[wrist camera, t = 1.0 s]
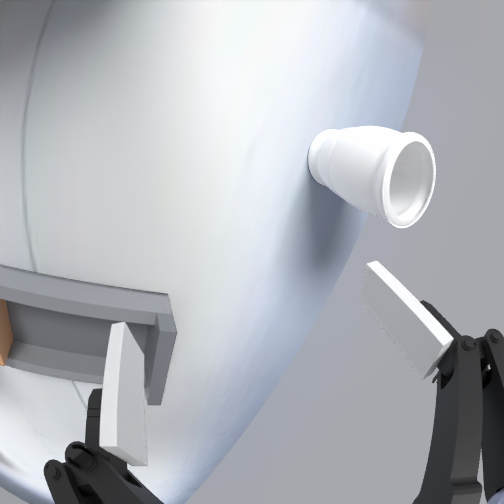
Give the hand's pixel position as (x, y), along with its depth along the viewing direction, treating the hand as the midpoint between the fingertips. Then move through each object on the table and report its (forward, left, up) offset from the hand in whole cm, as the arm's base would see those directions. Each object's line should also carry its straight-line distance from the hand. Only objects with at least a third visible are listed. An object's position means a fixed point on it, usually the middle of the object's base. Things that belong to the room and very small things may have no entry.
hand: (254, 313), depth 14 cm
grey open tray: (+20, -13, -22) cm, 32 cm away
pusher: (+20, -24, -21) cm, 38 cm away
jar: (-12, +18, -22) cm, 31 cm away
